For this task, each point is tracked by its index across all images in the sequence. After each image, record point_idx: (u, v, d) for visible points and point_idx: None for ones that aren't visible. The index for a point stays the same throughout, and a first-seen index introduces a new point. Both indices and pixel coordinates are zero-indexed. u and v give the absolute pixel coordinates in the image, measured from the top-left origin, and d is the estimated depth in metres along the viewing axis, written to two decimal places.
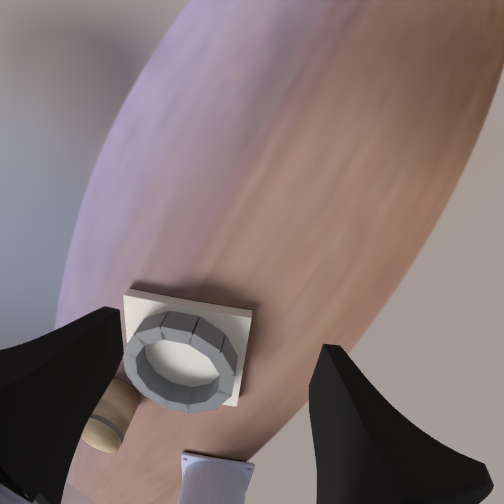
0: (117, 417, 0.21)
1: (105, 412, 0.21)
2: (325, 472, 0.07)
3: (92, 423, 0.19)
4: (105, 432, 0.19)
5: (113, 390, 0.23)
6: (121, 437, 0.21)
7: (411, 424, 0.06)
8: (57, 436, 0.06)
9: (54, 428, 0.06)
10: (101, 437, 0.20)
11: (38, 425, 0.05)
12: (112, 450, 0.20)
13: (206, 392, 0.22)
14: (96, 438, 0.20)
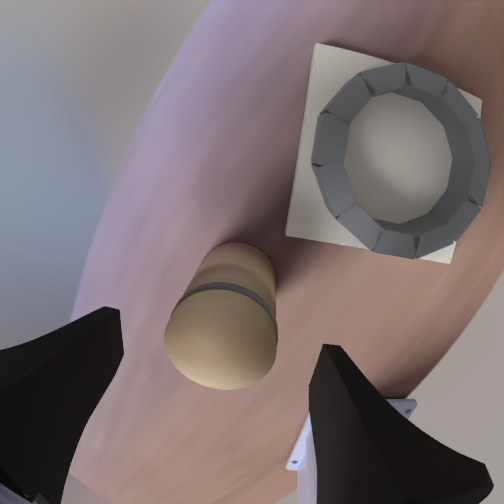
0: (266, 293, 0.12)
1: (245, 280, 0.12)
2: (325, 472, 0.07)
3: (223, 297, 0.10)
4: (258, 316, 0.10)
5: (242, 253, 0.14)
6: (277, 338, 0.11)
7: (411, 424, 0.06)
8: (57, 436, 0.06)
9: (54, 428, 0.06)
10: (237, 339, 0.10)
11: (38, 425, 0.05)
12: (250, 377, 0.11)
13: (432, 219, 0.12)
14: (218, 347, 0.11)
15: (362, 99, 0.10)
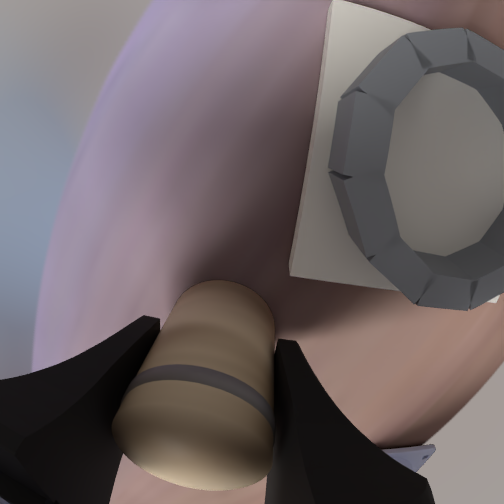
0: (260, 372, 0.08)
1: (227, 358, 0.07)
2: (271, 470, 0.07)
3: (188, 398, 0.06)
4: (244, 426, 0.06)
5: (226, 301, 0.10)
6: None
7: (352, 426, 0.06)
8: (105, 455, 0.06)
9: (103, 448, 0.06)
10: (214, 449, 0.06)
11: (89, 448, 0.05)
12: (236, 483, 0.07)
13: (488, 252, 0.08)
14: (188, 454, 0.06)
15: (411, 74, 0.06)
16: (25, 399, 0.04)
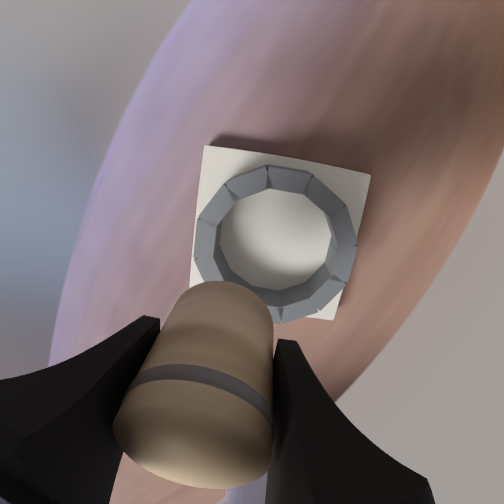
0: (261, 374, 0.08)
1: (230, 359, 0.07)
2: (272, 470, 0.07)
3: (193, 398, 0.06)
4: (246, 427, 0.06)
5: (229, 303, 0.10)
6: (273, 437, 0.07)
7: (352, 426, 0.06)
8: (105, 456, 0.06)
9: (103, 448, 0.06)
10: (214, 448, 0.06)
11: (89, 448, 0.05)
12: (232, 482, 0.07)
13: (303, 289, 0.17)
14: (188, 453, 0.06)
15: (226, 206, 0.15)
16: (24, 398, 0.04)
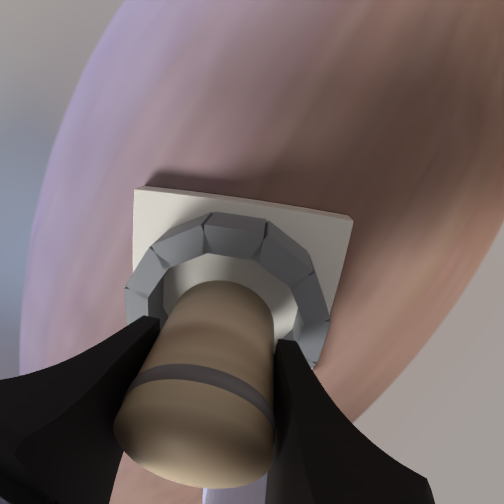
0: (262, 374, 0.08)
1: (232, 359, 0.07)
2: (271, 470, 0.07)
3: (195, 398, 0.06)
4: (248, 427, 0.06)
5: (230, 302, 0.10)
6: (274, 437, 0.07)
7: (352, 426, 0.06)
8: (105, 456, 0.06)
9: (103, 448, 0.06)
10: (216, 448, 0.06)
11: (89, 448, 0.05)
12: (233, 482, 0.07)
13: None
14: (189, 453, 0.06)
15: (156, 274, 0.11)
16: (25, 399, 0.04)
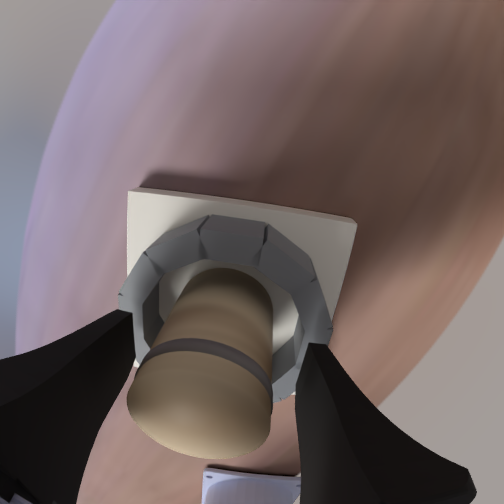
0: (261, 350, 0.09)
1: (234, 335, 0.08)
2: (308, 472, 0.07)
3: (202, 367, 0.07)
4: (248, 393, 0.07)
5: (233, 287, 0.11)
6: (272, 408, 0.08)
7: (393, 425, 0.06)
8: (72, 443, 0.06)
9: (69, 435, 0.06)
10: (219, 414, 0.07)
11: (54, 433, 0.05)
12: (235, 451, 0.08)
13: None
14: (195, 421, 0.07)
15: (151, 280, 0.11)
16: None
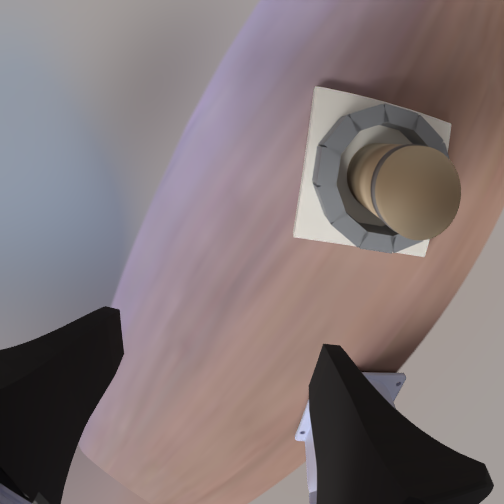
0: None
1: None
2: (325, 472, 0.07)
3: None
4: (452, 166, 0.11)
5: None
6: None
7: (411, 424, 0.06)
8: (57, 436, 0.06)
9: (54, 428, 0.06)
10: (438, 184, 0.11)
11: (38, 425, 0.05)
12: (439, 226, 0.12)
13: None
14: (423, 192, 0.11)
15: (350, 135, 0.14)
16: None
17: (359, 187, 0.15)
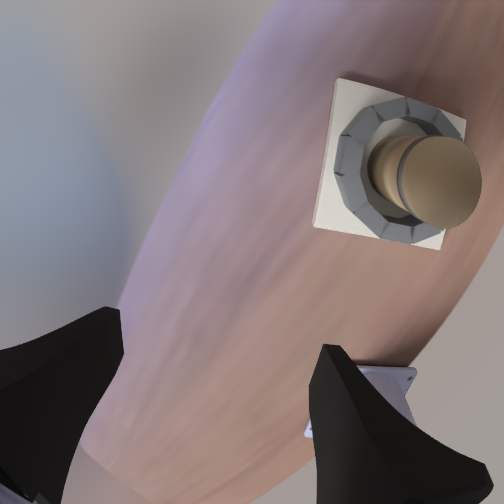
0: None
1: None
2: (325, 472, 0.07)
3: None
4: (474, 157, 0.11)
5: None
6: None
7: (411, 424, 0.06)
8: (57, 436, 0.06)
9: (54, 428, 0.06)
10: (461, 174, 0.11)
11: (38, 425, 0.05)
12: (462, 215, 0.11)
13: None
14: (448, 181, 0.11)
15: (374, 126, 0.14)
16: None
17: (382, 177, 0.14)
